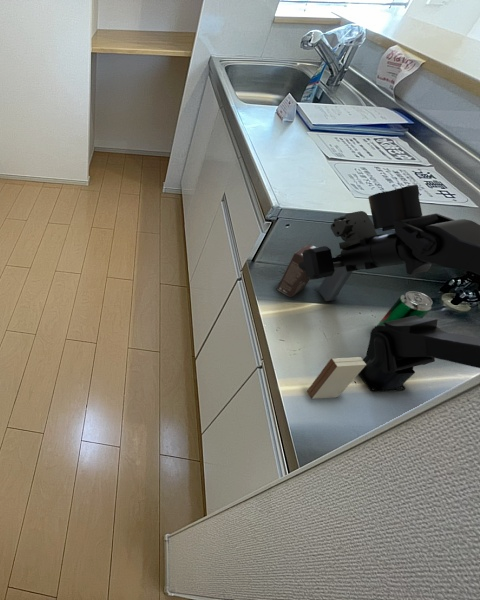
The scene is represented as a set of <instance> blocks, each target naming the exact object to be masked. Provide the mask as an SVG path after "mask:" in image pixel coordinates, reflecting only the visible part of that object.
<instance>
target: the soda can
mask: <svg viewBox="0 0 480 600" xmlns="http://www.w3.org/2000/svg"><path fill="white" fill-rule="evenodd" d="M433 303H434V302H433V300H432V299H431V297H430V296H428V295H427V294H425V293H422V292H419V291H414V290H411V291H406V292H405V293H403V294H401V295H400V296H399V297H398V298H397V300H396V301H395V302H394V304H393V305H392V306H391V307H390V308H389V310H388V311H387V312H386V314H385V315H384V316H383V317H382V318H381V320H380V321H379V322H378V323H377V324H376V326H378V325H383V324H384V322H388V321H393V320H397V319H402V318H406V317H411V316H418V317H420V318H425V316H426V315H427V314H428V313H429V312H430V311H431V310H432V305H433Z"/></svg>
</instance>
